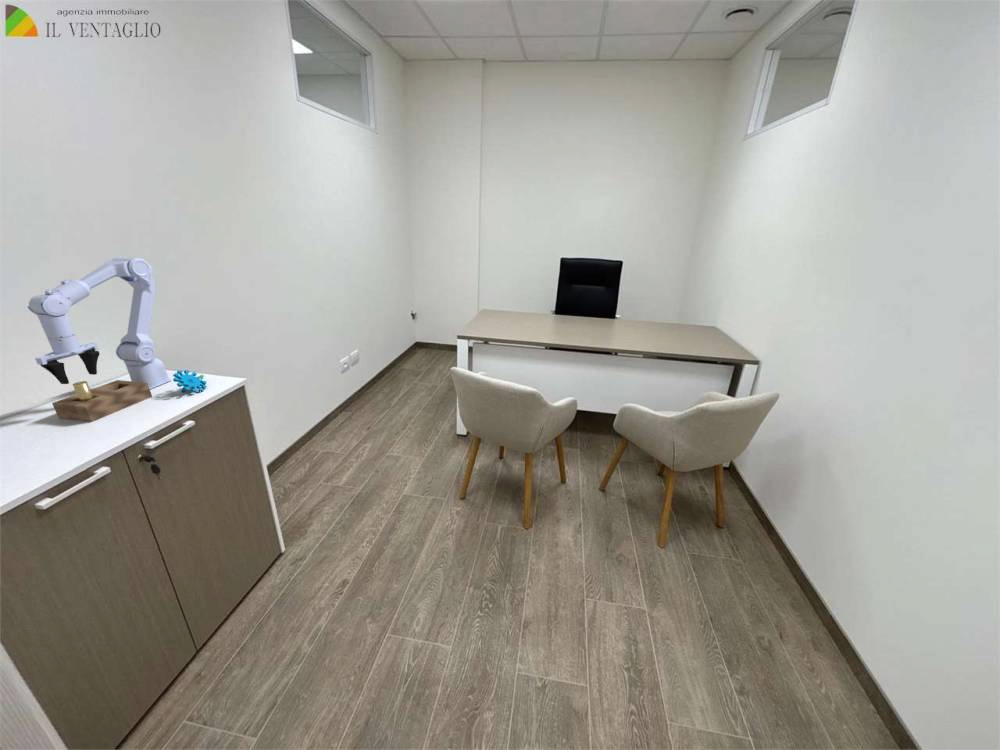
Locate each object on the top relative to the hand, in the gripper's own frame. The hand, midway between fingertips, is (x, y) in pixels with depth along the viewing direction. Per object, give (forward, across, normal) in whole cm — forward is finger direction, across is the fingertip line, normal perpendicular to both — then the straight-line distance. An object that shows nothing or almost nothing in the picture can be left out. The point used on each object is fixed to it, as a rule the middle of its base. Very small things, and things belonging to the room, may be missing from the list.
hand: (79, 378), depth 121 cm
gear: (+10, +16, -21) cm, 28 cm away
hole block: (+10, +1, -5) cm, 11 cm away
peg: (+10, -4, -5) cm, 11 cm away
